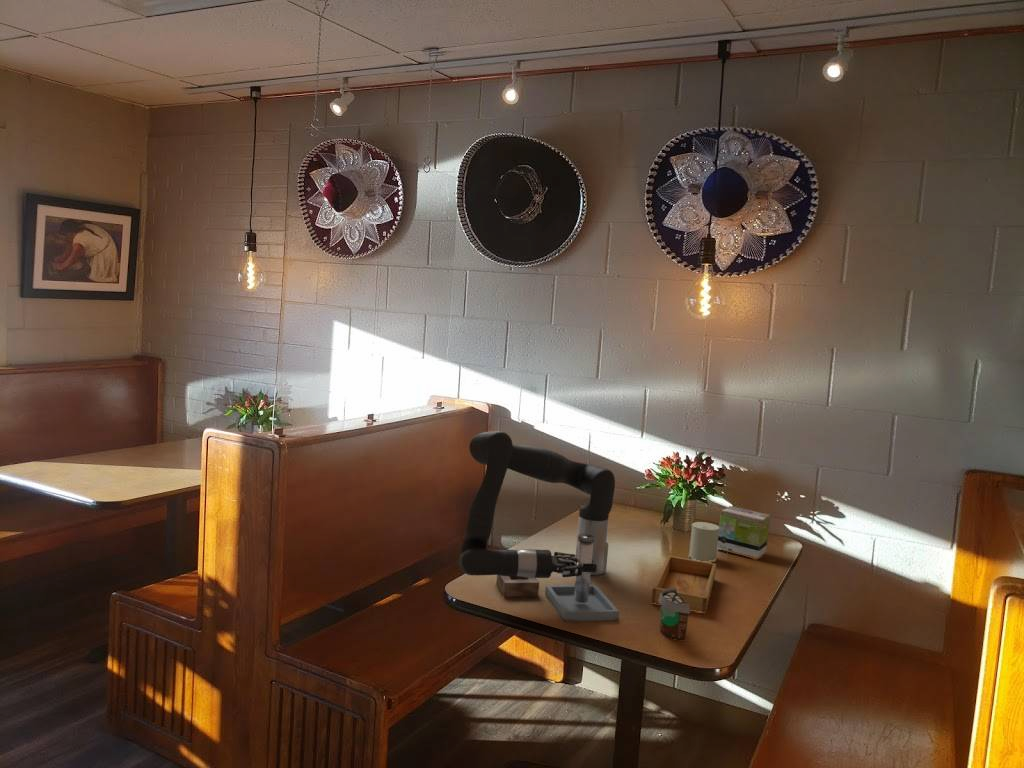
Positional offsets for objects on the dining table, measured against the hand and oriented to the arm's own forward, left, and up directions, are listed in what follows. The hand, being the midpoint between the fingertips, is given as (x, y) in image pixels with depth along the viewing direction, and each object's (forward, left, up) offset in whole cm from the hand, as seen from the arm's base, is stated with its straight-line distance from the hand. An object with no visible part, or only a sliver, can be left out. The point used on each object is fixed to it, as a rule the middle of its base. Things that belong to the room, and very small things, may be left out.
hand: (593, 565), depth 217 cm
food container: (-15, +18, -12) cm, 26 cm away
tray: (-33, -10, -13) cm, 37 cm away
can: (-53, -38, -12) cm, 67 cm away
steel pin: (+3, 0, -10) cm, 10 cm away
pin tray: (+3, 0, -12) cm, 12 cm away
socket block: (+18, -13, -12) cm, 25 cm away
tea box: (-71, -44, -12) cm, 85 cm away
